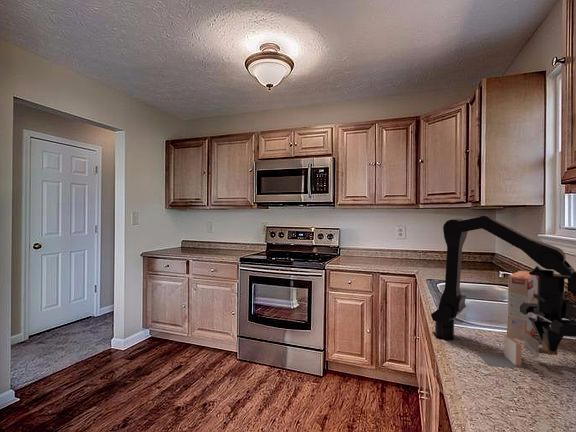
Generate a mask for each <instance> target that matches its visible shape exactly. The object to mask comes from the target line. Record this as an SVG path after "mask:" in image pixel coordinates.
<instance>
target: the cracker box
mask: <svg viewBox="0 0 576 432" xmlns="http://www.w3.org/2000/svg"><path fill="white" fill-rule="evenodd" d="M529 272H530V271H528V270H525V271H524V270H518V271H516V272H514V273H512V274H510V275H508V278H507V279H508V280H507V282H508V283H507V286H508V287H507V314H506V315H507V319H506V320H507V321H506V323H507V325H506V335H510V336H511V337H512V338H514V339H515V340H517V339H518V340H521V341H524V333H525V334H528V335H530V336H531V337H533V336H534V335H535V334H537V332H536V330H535V328H534V326H533V325H532V323H531V321H530V320H529V318H532V313H529V312H528V314H527V315H524V314H523V313H521V312H520V305H521V304H523V303H535V304H537V299H536V298H534V294H537V290H538V276H536V275H530V274H529Z"/></svg>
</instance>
